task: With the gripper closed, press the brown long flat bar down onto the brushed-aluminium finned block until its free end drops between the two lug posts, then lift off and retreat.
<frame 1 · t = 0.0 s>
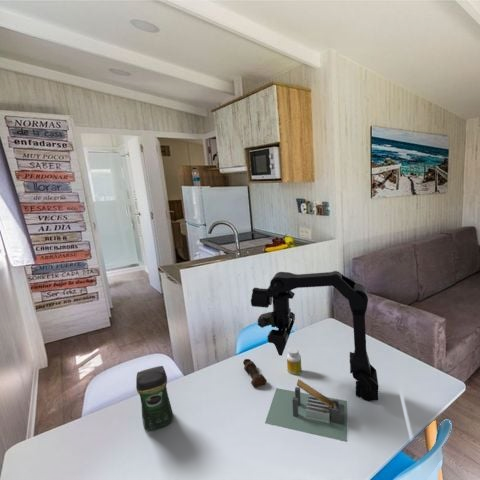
hand: (283, 347, 106), 15 cm above the table, fingers open, 9 cm apart
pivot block: (335, 417, 91), resting on board
lug fork: (297, 409, 95), resting on board
coffee jar: (158, 421, 96), on the table
brown long flat bar: (316, 394, 92), point 8 cm above the table, hinge at 30.0°
supplement bottle: (294, 372, 115), on the table
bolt: (253, 377, 115), on the table
heatsink: (318, 413, 93), resting on board
board: (307, 414, 94), on the table
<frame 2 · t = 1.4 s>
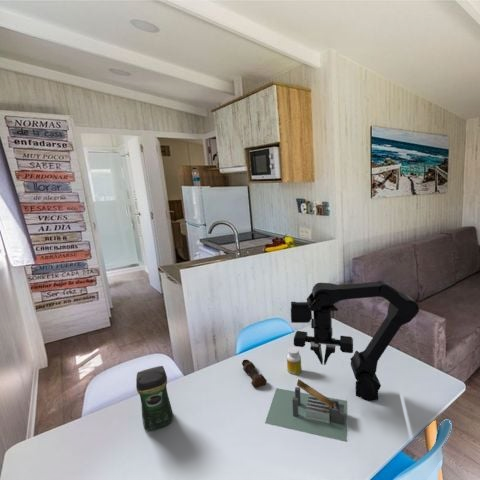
hand: (323, 364, 99), 13 cm above the table, fingers closed
nothing on the table moved.
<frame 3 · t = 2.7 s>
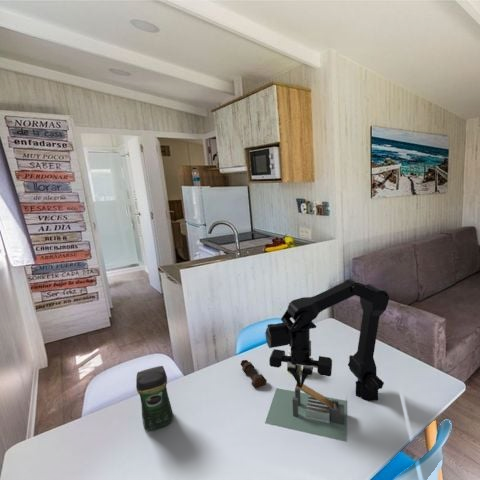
hand: (300, 385, 93), 10 cm above the table, fingers closed, pressing on brown long flat bar
brown long flat bar: (316, 395, 92), point 8 cm above the table, hinge at 26.8°, touching gripper
everything else where it was.
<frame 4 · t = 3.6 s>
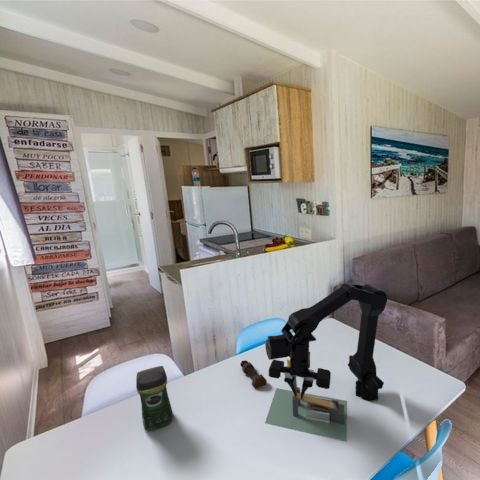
hand: (299, 396, 94), 6 cm above the table, fingers closed on brown long flat bar
brown long flat bar: (314, 400, 92), point 5 cm above the table, hinge at 6.3°, touching gripper
everything else where it was.
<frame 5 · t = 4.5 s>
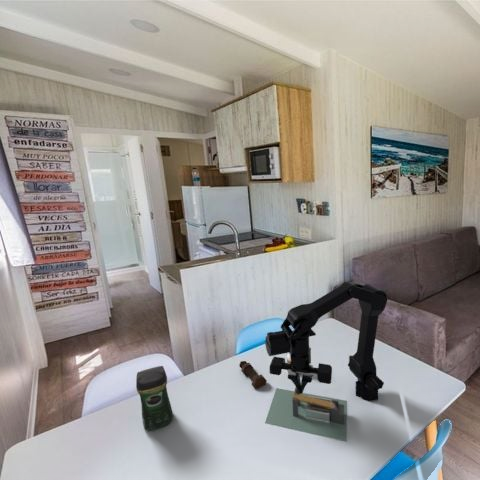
hand: (301, 392, 93), 8 cm above the table, fingers closed
brown long flat bar: (314, 401, 92), point 5 cm above the table, hinge at 4.7°
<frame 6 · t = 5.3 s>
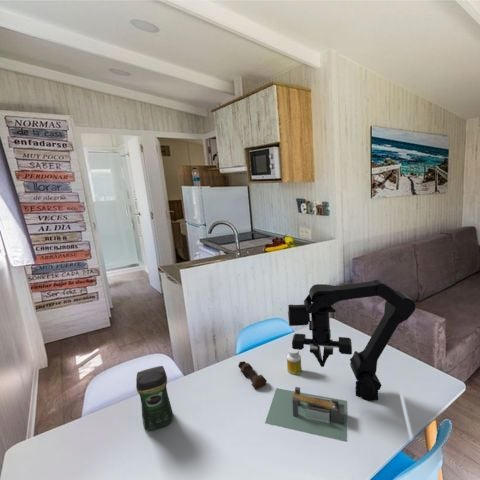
hand: (322, 366, 98), 12 cm above the table, fingers closed
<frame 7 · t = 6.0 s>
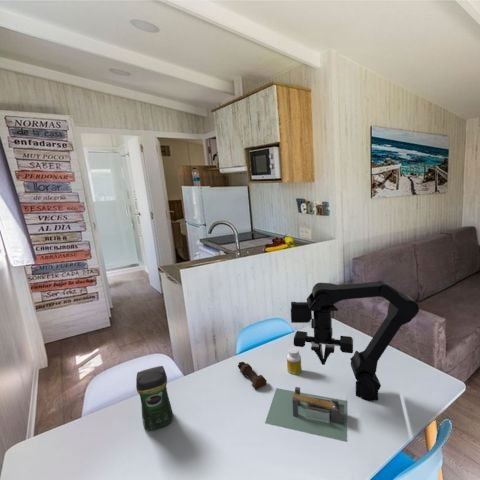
hand: (323, 364, 99), 13 cm above the table, fingers closed
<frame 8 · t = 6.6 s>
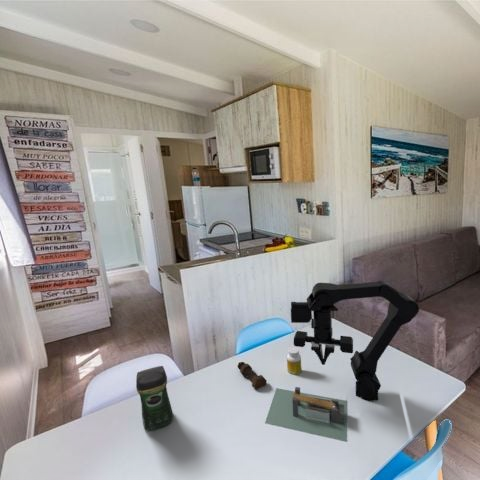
hand: (323, 364, 99), 13 cm above the table, fingers closed
at the end: brown long flat bar at +5° (first picture: +30°) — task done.
